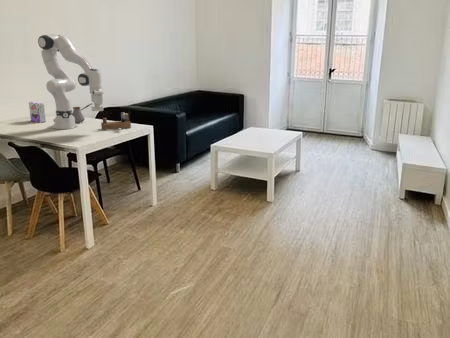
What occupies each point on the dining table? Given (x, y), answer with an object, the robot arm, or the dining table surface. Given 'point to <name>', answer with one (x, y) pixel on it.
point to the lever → (123, 116)
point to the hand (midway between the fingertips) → (97, 109)
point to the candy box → (37, 112)
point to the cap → (96, 108)
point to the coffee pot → (78, 114)
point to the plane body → (115, 124)
